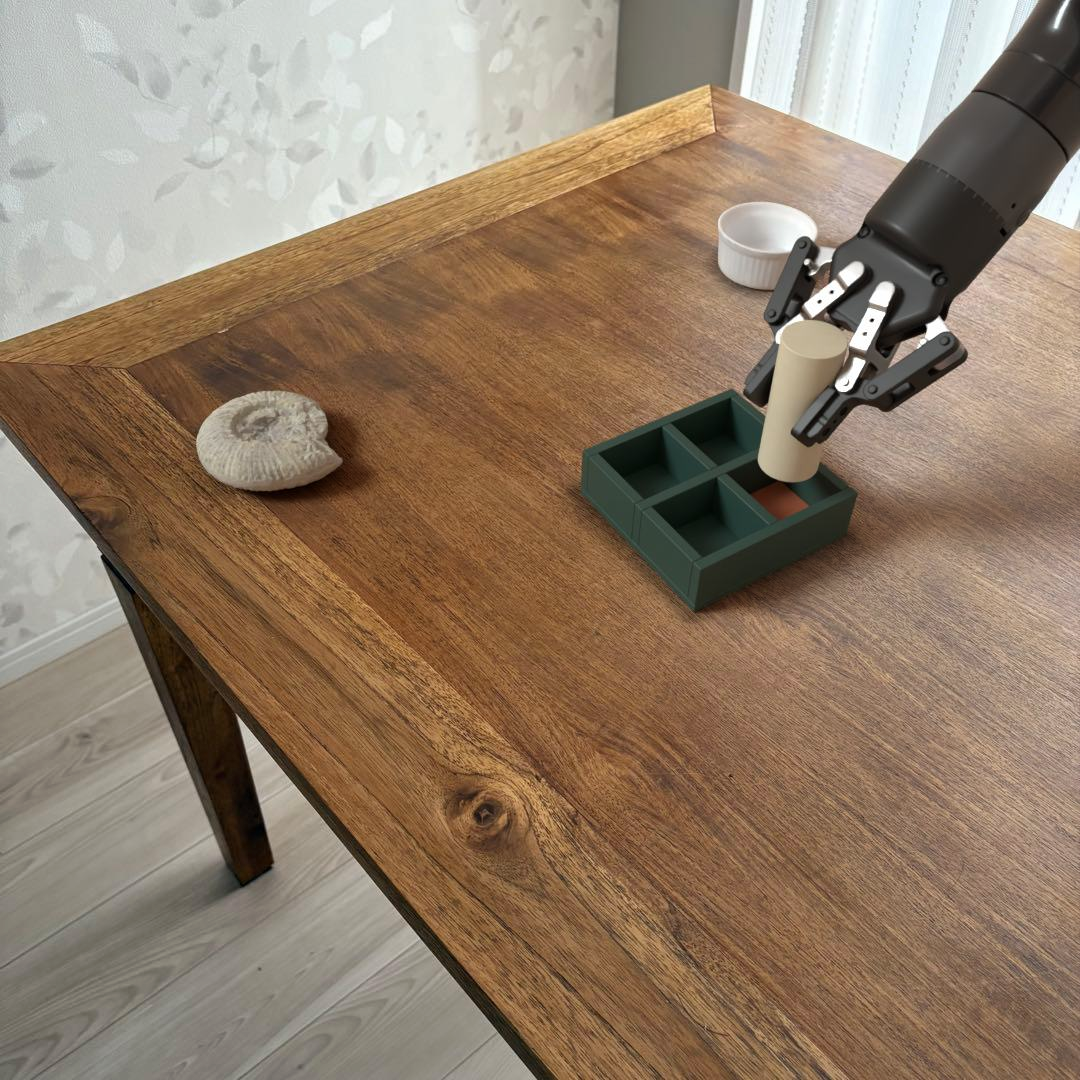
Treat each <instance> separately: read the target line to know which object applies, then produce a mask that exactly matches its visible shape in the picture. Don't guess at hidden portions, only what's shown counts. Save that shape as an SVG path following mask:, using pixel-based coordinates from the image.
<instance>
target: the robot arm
mask: <svg viewBox="0 0 1080 1080" xmlns="http://www.w3.org/2000/svg"><path fill="white" fill-rule="evenodd" d="M1079 151H1080V0H1037V2H1036V3H1035V6H1034V7H1033V9H1032V11H1031V12H1030V14H1029V15H1028V17H1027V18H1026V20H1025V22H1024V23H1023V24H1022V26H1021V27H1020V29H1019V30H1018V32H1017V33H1016V35H1015V36H1014V37H1013V38H1012V39H1011V41H1010V42H1009V44H1008V45H1007V46H1006V47H1005V49H1004V50H1003V51H1002V53H1001V54H1000V55H999V56H998V58H997V59H996V60H995V61H994V62H993V64H992V65H991V66H990V67H989V69H988V70H987V71H986V72H985V74H984V75H983V76H982V77H981V79H980V80H979V81H978V82H977V83H976V85H975V86H974V87H973V88H972V90H971V91H970V92H969V94H967V96H966V97H965V98H964V99H963V100H962V101H961V102H960V103H959V104H958V105H957V106H956V107H955V108H954V109H953V110H952V111H951V112H950V113H949V114H947V116H946V117H945V118H944V119H943V120H942V121H941V122H940V123H939V124H938V125H937V126H936V128H935V129H934V130H933V131H932V132H931V133H930V135H929V136H928V138H927V139H926V140H925V141H924V142H923V144H921V146H920V147H919V149H918V150H917V151H916V152H915V154H913V156H912V157H911V159H909V161H908V162H907V163H906V164H905V166H904V167H903V168H902V169H901V170H900V172H899V173H898V174H897V176H895V178H894V179H893V181H892V182H891V183H890V184H889V185H888V187H887V188H886V189H885V190H884V191H883V192H882V194H881V196H880V197H879V198H878V199H877V200H876V201H875V203H874V204H873V205H872V207H870V209H869V210H868V211H867V213H866V214H865V216H864V219H863V221H862V224H861V226H860V228H859V230H858V231H857V232H856V233H855V234H854V235H853V236H852V237H851V238H849V239H847V240H845V241H844V242H842V243H840V244H839V245H838V246H837V247H831V246H825V245H820V244H816V243H814V242H813V241H812V240H811V239H810V238H809V237H808V236H802V237H800V238H799V239H797V240H796V242H795V244H794V246H793V248H792V250H791V253H790V255H789V257H788V260H787V262H786V264H785V266H784V269H783V271H782V273H781V275H780V278H779V280H778V282H777V284H776V287H775V289H774V290H772V294H771V296H770V297H769V300H768V302H767V305H766V307H765V308H764V309H765V310H764V311H763V314H762V315H763V317H762V318H763V320H764V322H766V323H767V325H768V326H769V328H770V329H771V332H772V334H773V342H772V345H771V346H770V347H769V348H768V349H767V351H766V352H765V353H764V355H763V356H762V357H761V358H760V359H759V361H758V362H757V363H756V365H755V366H754V367H753V368H752V369H751V371H750V372H749V373H748V374H747V376H746V378H745V381H744V383H743V384H744V385H745V387H744V388H743V390H742V395H743V396H744V397H745V399H747V400H749V401H750V403H752V404H754V405H756V406H757V407H758V408H759V409H760V408H764V407H765V406H768V402H769V396H770V391H771V386H772V380H773V375H774V370H775V365H776V359H777V354H778V349H779V344H780V338H781V334H782V331H783V330H784V328H785V327H786V326H788V325H789V324H791V323H794V322H797V321H802V320H817V321H822V322H826V323H829V324H831V325H833V326H835V327H837V328H839V329H840V330H841V331H842V332H844V331H845V330H846V331H847V332H850V333H853V334H854V335H853V337H852V338H851V341H850V343H849V344H848V356H847V358H846V360H845V361H844V364H843V368H842V369H841V371H840V373H839V375H838V377H837V379H836V382H835V387H834V388H831V387H830V386H829V385H828V386H827V387H826V388H825V389H824V390H823V392H822V393H821V394H820V395H819V396H818V398H817V399H816V400H815V401H814V402H813V404H812V405H811V406H810V407H809V408H808V410H807V411H806V412H805V413H804V414H803V416H802V417H801V418H800V419H799V420H798V422H797V423H796V424H795V425H794V426H793V428H792V429H791V435H792V436H793V437H794V438H795V439H797V440H798V441H799V442H800V443H802V444H803V445H805V446H806V447H811V446H813V445H814V444H815V443H816V442H817V443H818V444H821V443H823V442H824V441H825V442H826V441H827V440H828V439H829V438H830V437H832V434H833V433H834V432H835V431H836V430H837V429H838V427H839V426H840V425H841V424H842V423H843V422H844V420H845V419H846V418H847V417H848V416H849V415H850V414H851V412H853V410H854V409H855V408H856V407H857V408H858V407H859V406H863V405H864V406H868V407H871V408H875V409H878V410H879V411H880V412H883V413H890V412H892V411H894V410H895V409H896V408H898V407H899V406H901V405H903V404H904V403H905V402H907V401H909V400H910V399H911V398H913V397H915V396H916V395H917V394H919V393H920V392H922V391H923V390H925V389H927V388H928V387H929V386H931V385H932V384H934V383H936V382H937V381H938V380H940V379H942V378H943V377H945V376H946V375H948V374H949V373H951V372H952V371H954V370H956V368H958V367H960V366H962V365H963V364H964V363H965V362H966V361H967V359H968V357H969V351H968V350H967V348H966V347H965V345H964V344H963V342H962V341H961V340H960V339H959V337H957V336H956V335H955V334H954V333H953V332H952V331H951V330H950V329H951V328H949V326H948V325H947V324H946V320H947V318H948V316H949V312H950V311H949V310H950V307H951V305H952V303H953V302H954V300H955V298H957V297H958V296H959V295H960V294H963V292H965V291H966V290H967V289H968V288H969V287H970V285H972V284H973V282H974V281H975V280H976V279H977V277H978V276H979V275H980V274H981V273H982V272H983V270H984V269H985V268H986V267H987V265H988V264H989V263H990V262H991V261H992V260H993V258H994V257H995V256H996V255H997V254H998V252H1000V250H1001V249H1002V248H1003V247H1004V246H1005V245H1006V243H1008V241H1009V240H1010V239H1011V237H1012V236H1013V235H1014V234H1015V233H1016V232H1017V230H1019V228H1021V227H1022V226H1023V225H1024V224H1025V223H1026V222H1027V220H1028V219H1029V217H1030V216H1031V214H1032V213H1033V212H1034V211H1035V209H1036V208H1037V207H1038V205H1040V203H1041V202H1042V201H1043V199H1044V198H1045V197H1046V195H1047V193H1048V192H1049V190H1050V189H1051V188H1052V186H1053V184H1054V183H1055V181H1056V179H1057V178H1058V177H1059V175H1060V174H1061V172H1062V171H1063V170H1064V168H1065V167H1066V166H1067V164H1068V163H1069V162H1070V161H1071V160H1072V159H1073V158H1074V156H1075V155H1076V154H1077V153H1078V152H1079ZM828 272H829V274H828V281H827V285H825V286H824V287H823V288H822V289H821V290H820V291H819V290H818V292H817V293H816V294H814V295H813V296H812V294H813V292H814V290H815V288H816V285H817V283H818V281H824V280H825V279H826V274H827V273H828ZM811 296H812V297H811ZM826 314H827V315H826ZM922 335H924V336H923V337H921V338H920V339H919V341H918V342H917V345H916V349H914V350H913V351H911V352H910V353H909V354H907V355H906V356H904V357H903V358H902V359H900V360H898V361H897V362H895V363H894V364H892V365H891V363H892V361H893V359H894V358H895V355H896V353H897V351H898V349H899V347H900V346H901V344H902V343H903V342H906V341H908V340H911V339H914V338H917V337H919V336H922ZM825 442H824V443H825Z"/></svg>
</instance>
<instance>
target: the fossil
mask: <svg viewBox="0 0 1080 1080" xmlns="http://www.w3.org/2000/svg"><path fill="white" fill-rule="evenodd" d="M328 432H329V423H328V419H327V415H326V412H325V411H323V409H322V408H321V405H320V404H319V402H317V401H316V399H312V398H311V397H308V396H307V395H303V394H299V393H297V392H292V391H286V390H285V391H283V390H273V391H272V390H267V391H266V390H263V391H260V390H259V391H257V392H251V393H247V394H246V395H242V396H240V397H239V396H238V397H236V398H232V399H231V400H229V401H227V402H226V403H223V404H222V405H220V406H219V407H217V408H216V409H215V410H213V411H212V412H211V414H209V416H208V417H206V419H205V420H204V421H203V422H202V424H201V426H200V428H199V431H198V434H197V435H196V442H195V443H196V452H197V454H198V455H197V456H198V459H199V461H200V463H201V465H202V467H203V469H204V470H205V471H206V472H207V473H208V474H209V475H210V476H212V477H213V478H214V479H215V480H218V482H219V483H221V484H224V485H228V486H230V487H232V488H234V489H240V490H244V491H248V490H249V491H252V492H260V491H261V492H266V491H267V492H272V491H279V490H284V489H294V488H296V487H303V486H307V485H308V484H311V483H314V482H317V481H320V480H321V479H323V478H325V477H326V476H327V475H329V474H332V472H334V471H335V470H336V469H338V468H339V467H341V466H342V464H343V462H344V461H343V458H342V457H340V456H339V455H338V453H336V452H335V450H334V449H332V448H331V447H330V446H329V443H328V442H327V441H326V437H327V435H328Z"/></svg>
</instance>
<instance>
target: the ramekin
mask: <svg viewBox="0 0 1080 1080" xmlns="http://www.w3.org/2000/svg"><path fill="white" fill-rule="evenodd" d="M717 232H718V246H717V250H718V251H717V262H718V267H719V269H720V271H721V272H722V274H723V275H724V276H725V277H726V278H728V279H729V280H731V281H732V282H733V283H736V284H737V285H740V286H743V287H746V288H748V289H749V288H750V289H755V290H763V291H774V289H775V287H776V284H777V282H778V280H779V278H780V275H781V273H782V271H783V269H784V266H785V264H786V262H787V260H788V257H789V255H790V253H791V250H792V248H793V246H794V244H795V242H796V240H797V239H799V238H800V237H802V236H808V237H809V238H810V239H811V240H812V241H813V242H814V243H815V244H816V243H817V240H818V238H819V234H820V233H819V227H818V225H817V222H816V221H815V220H814V219H813V218H812V217H811V216H810V215H808V214H807V213H805V212H804V211H801V210H799V209H797V208H795V207H793V206H789V205H786V204H782V203H778V202H771V201H751V202H744V203H739V204H737V205H736V204H735V205H733V206H731V207H729V208H727V209H726V210H724V211H723V212H722V213H721V214H720V216H719V217H718V220H717Z"/></svg>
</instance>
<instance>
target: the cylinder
mask: <svg viewBox="0 0 1080 1080" xmlns="http://www.w3.org/2000/svg"><path fill="white" fill-rule="evenodd" d="M848 348H849V340H848V336H847V335H846V333H845V332H844V331H841V330H840V329H839V328H837V327H835V326H833V325H831V324H829V323H826V322H822V321H817V320H802V321H797V322H794V323H791V324H789V325H788V326H786V327H785V328H784V330H783V331H782V334H781V338H780V344H779V349H778V354H777V359H776V365H775V370H774V375H773V380H772V386H771V391H770V396H769V402H768V404H767V408H766V412H765V416H766V417H765V423H764V428H763V433H762V438H761V444H760V449H759V454H758V463H759V466H760V468H761V469H762V470H763V471H764V472H765V473H766V474H767V475H769V476H770V477H772V478H774V479H777V480H780V481H784V482H801V481H805V480H807V479H809V478H811V477H812V476H813V475H814V474H815V473H816V472H817V470H818V466H819V462H821V458H822V454H823V450H824V445H825V442H826V441H824V442H823V443H821V444H818V443H817V442H816V443H815V444H814V445H813V446H811V447H806V446H805V445H803V444H802V443H800V442H799V441H798V440H797V439H795V438H794V437H793V436H792V435H791V429H792V428H793V426H794V425H795V424H796V423H797V422H798V420H799V419H800V418H801V417H802V416H803V414H804V413H805V412H806V411H807V410H808V408H809V407H810V406H811V405H812V404H813V402H814V401H815V400H816V399H817V398H818V396H819V395H820V394H821V393H822V392H823V390H824V389H825V388H826V387H827V386H828V385H829V386H830V387H831V388H834V387H835V382H836V379H837V377H838V375H839V373H840V371H841V369H842V368H843V366H844V364H845V361H846V360H845V359H846V355H847V351H848Z"/></svg>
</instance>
